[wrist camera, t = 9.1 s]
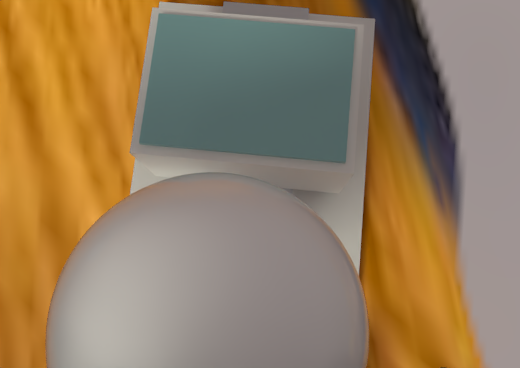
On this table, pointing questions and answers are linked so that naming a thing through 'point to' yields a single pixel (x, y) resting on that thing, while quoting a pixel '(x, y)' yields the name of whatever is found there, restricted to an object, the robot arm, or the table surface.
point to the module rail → (260, 103)
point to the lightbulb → (208, 283)
